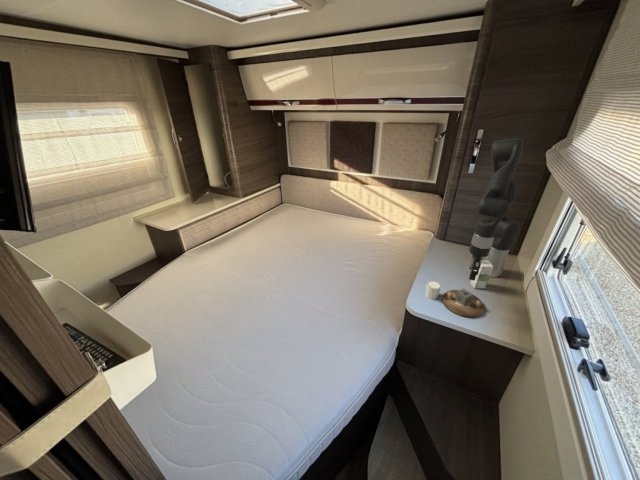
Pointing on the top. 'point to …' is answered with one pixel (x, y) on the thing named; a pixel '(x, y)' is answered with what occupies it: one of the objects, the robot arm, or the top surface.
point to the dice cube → (463, 297)
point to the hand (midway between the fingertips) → (471, 274)
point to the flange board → (468, 310)
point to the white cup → (432, 289)
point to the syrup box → (482, 275)
